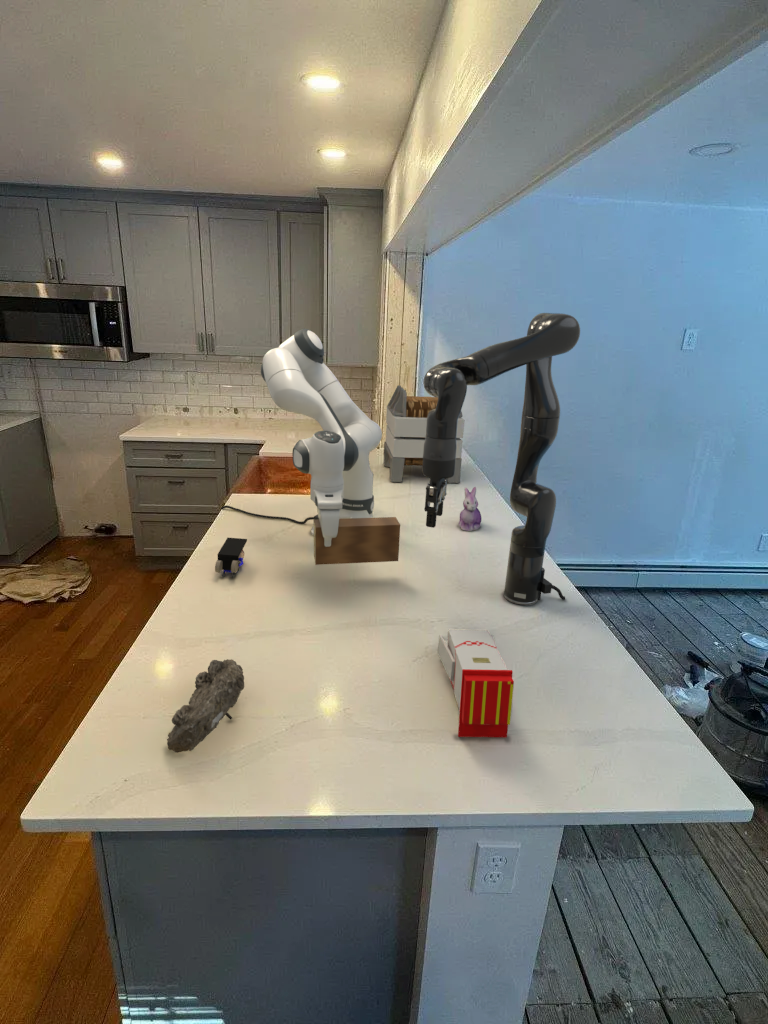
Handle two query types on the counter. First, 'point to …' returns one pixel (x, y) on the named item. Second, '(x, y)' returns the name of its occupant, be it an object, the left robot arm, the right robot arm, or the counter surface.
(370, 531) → the box
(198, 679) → the fossil
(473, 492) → the figurine
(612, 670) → the counter surface
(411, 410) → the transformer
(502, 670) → the toy
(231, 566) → the black toy vehicle
